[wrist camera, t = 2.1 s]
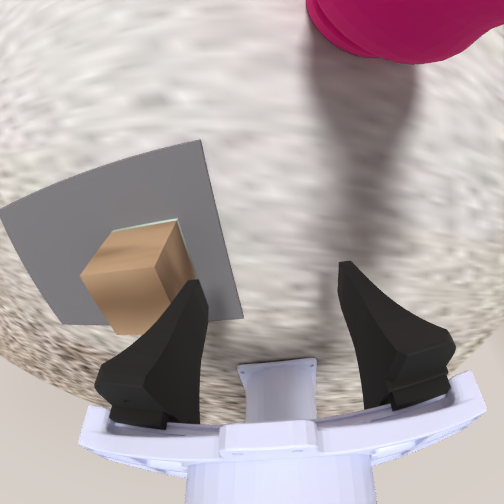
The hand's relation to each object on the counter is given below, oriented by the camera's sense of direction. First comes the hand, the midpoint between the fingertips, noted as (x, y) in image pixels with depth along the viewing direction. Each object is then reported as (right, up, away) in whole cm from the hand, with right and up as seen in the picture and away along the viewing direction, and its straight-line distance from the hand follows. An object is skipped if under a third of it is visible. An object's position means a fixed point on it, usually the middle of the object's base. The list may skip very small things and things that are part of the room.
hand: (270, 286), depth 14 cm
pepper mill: (+5, +15, -4) cm, 16 cm away
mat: (-13, +1, +5) cm, 14 cm away
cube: (-8, +1, +4) cm, 9 cm away
